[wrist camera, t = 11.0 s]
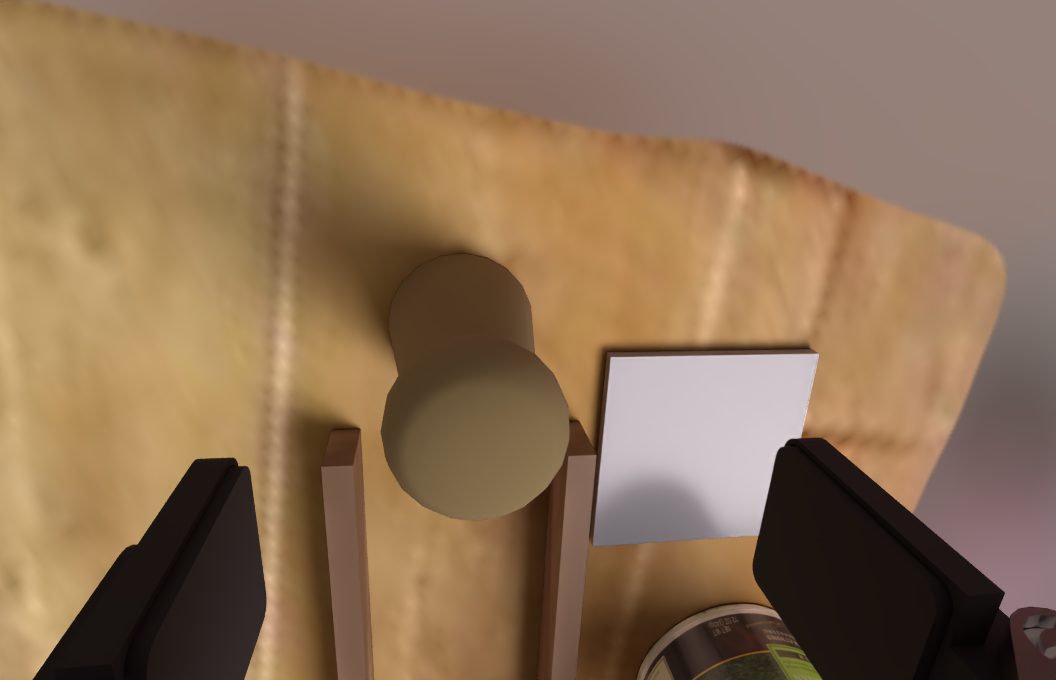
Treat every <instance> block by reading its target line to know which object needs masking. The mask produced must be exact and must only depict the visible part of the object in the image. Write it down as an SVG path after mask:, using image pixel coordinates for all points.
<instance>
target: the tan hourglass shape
mask: <svg viewBox="0 0 1056 680" xmlns="http://www.w3.org/2000/svg"><path fill="white" fill-rule="evenodd" d="M388 325H389V331H390V337H391V343H392V348H393V352H394V357H395V362H396V367H397V371H398V377H397V379H396V381H395V383H394V384H393V386H392V388H391V390H390V391H389V393H388V395H387V400H386V405H385V410H384V416H383V421H382V427H381V436H382V441H383V447H384V452H385V458H386V460H387V463H388V466H389V468H390V469H391V471H392V473H393V474H394V476H395V478H396V480H397V481H398V483H399V485H400V486H401V488H402V489H403V490H404V491H405V492H406V493H408V494H409V495H410V496H411V497H412V498H413V499H415V500H416V501H417V502H418V503H419V504H421V505H422V506H424V507H426V508H428V509H430V510H432V511H435V512H437V513H440V514H442V515H445V516H447V517H449V518H453V519H463V520H472V521H479V520H486V519H492V518H498V517H502V516H505V515H507V514H509V513H511V512H514V511H516V510H518V509H520V508H523V507H524V506H526V505H527V504H528V503H529V502H531V501H532V500H533V499H534V498H535V497H537V496H538V495H539V494H540V493H541V492H543V491H544V490H545V489H546V488H547V487H548V485H549V484H550V482H551V481H552V479H553V478H554V476H555V475H556V473H557V472H558V470H559V469H560V467H561V466H562V464H563V460H564V457H565V453H566V450H567V446H568V443H569V433H570V430H569V414H568V404H567V402H566V400H565V397H564V395H563V393H562V391H561V388H560V386H559V384H558V381H557V379H556V378H555V376H554V374H553V372H552V371H551V370H550V369H549V368H548V367H547V366H546V365H545V364H544V363H543V362H542V361H541V360H540V359H539V358H538V357H537V356H536V354H535V349H534V337H533V325H532V314H531V305H530V302H529V300H528V298H527V295H526V293H525V291H524V289H523V286H522V285H521V284H520V283H519V281H518V280H517V279H516V278H515V277H514V276H513V275H512V274H511V273H510V272H509V270H508V269H506V268H504V267H503V266H501V265H499V264H497V263H496V262H494V261H492V260H490V259H488V258H485V257H480V256H475V255H471V254H466V253H463V254H454V255H445V256H440V257H438V258H435V259H433V260H431V261H429V262H426V263H424V264H422V265H420V266H419V267H418V268H416V269H415V270H414V271H413V272H412V273H411V274H410V275H409V276H408V277H407V278H405V279H404V280H403V281H402V283H401V285H400V287H399V289H398V290H397V292H396V294H395V296H394V298H393V299H392V302H391V308H390V314H389V320H388Z"/></svg>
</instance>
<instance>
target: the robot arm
mask: <svg viewBox="0 0 1056 680" xmlns="http://www.w3.org/2000/svg"><path fill="white" fill-rule="evenodd" d="M753 574H754V577H755V580H756V582H757V584H758V586H759V587H760V589H761V590H762V592H763V593H764V595H765V596H766V598H767V599H768V600H769V602H770V603H771V605H772V606H773V608H774V609H775V611H776V612H777V614H778V615H779V617H780V618H781V620H782V621H783V623H784V624H785V626H786V627H787V628H788V630H789V631H790V633H791V634H792V636H793V637H794V639H795V640H796V642H797V643H798V645H799V646H800V648H801V649H802V651H803V652H804V654H805V655H806V656H807V658H808V659H809V661H810V662H811V664H812V665H813V667H814V668H815V670H816V671H817V673H818V674H819V676H820V677H821V679H822V680H1056V611H1055V610H1052V609H1048V608H1040V607H1025V608H1019V609H1017V610H1016V611H1015V612H1013V613H1012V614H1011V616H1010V618H1009V617H1008V616H1007V615H1005V614H1004V613H1003V612H1002V611H1001V610H1000V609H999V607H1000V604H1001V601H1002V599H1003V597H1004V594H1005V592H1004V591H1002V590H1001V589H1000V588H999V587H998V586H996V585H995V584H994V583H993V582H992V581H991V580H989V579H988V578H987V577H986V576H985V575H984V574H982V573H981V572H980V571H979V570H978V569H976V568H975V567H974V566H973V565H972V564H971V563H969V562H968V561H967V560H966V559H965V558H964V557H962V556H961V555H960V554H959V553H958V552H957V551H955V550H954V549H953V548H952V547H951V546H949V545H948V544H947V543H946V542H945V541H944V540H942V539H941V538H940V537H939V536H938V535H937V534H935V533H934V532H933V531H932V530H931V529H929V528H928V527H927V526H926V525H925V524H924V523H922V522H921V521H920V520H919V519H918V518H916V517H915V516H914V515H913V514H912V513H911V512H910V511H908V510H907V509H906V508H905V507H904V506H902V505H901V504H900V503H899V502H898V501H897V500H895V499H894V498H893V497H892V496H891V495H890V494H888V493H887V492H886V491H885V490H884V489H883V488H881V487H880V486H879V485H878V484H877V483H875V482H874V481H873V480H872V479H871V478H870V477H868V476H867V475H866V474H865V473H864V472H863V471H861V470H860V469H859V468H858V467H857V466H855V465H854V464H853V463H852V462H851V461H850V460H848V459H847V458H846V457H845V456H844V455H843V454H841V453H840V452H839V451H838V450H837V449H835V448H834V447H833V446H832V445H831V444H830V443H828V442H827V441H826V440H824V439H823V438H794V439H790V440H788V441H787V442H786V444H785V445H784V447H781V448H779V450H778V451H777V454H776V458H775V462H774V467H773V472H772V476H771V481H770V485H769V490H768V495H767V499H766V504H765V508H764V513H763V518H762V522H761V527H760V531H759V536H758V541H757V545H756V550H755V554H754V559H753ZM265 612H266V589H265V581H264V574H263V566H262V558H261V551H260V543H259V535H258V528H257V520H256V512H255V505H254V497H253V490H252V482H251V475H250V470H249V468H248V467H247V466H238V463H237V461H236V459H235V458H210V459H196V460H195V461H194V462H193V463H192V464H191V466H190V467H189V469H188V470H187V472H186V473H185V475H184V476H183V478H182V479H181V481H180V482H179V484H178V485H177V487H176V488H175V490H174V491H173V493H172V494H171V496H170V497H169V499H168V500H167V502H166V503H165V505H164V506H163V508H162V509H161V511H160V512H159V513H158V515H157V516H156V518H155V519H154V521H153V522H152V524H151V525H150V527H149V528H148V530H147V531H146V533H145V534H144V536H143V537H142V539H141V540H140V542H139V543H138V545H131V546H129V547H127V548H126V549H125V550H124V551H123V552H122V553H121V554H120V555H119V556H118V558H117V559H116V561H115V562H114V564H113V565H112V567H111V568H110V569H109V571H108V572H107V574H106V575H105V577H104V578H103V579H102V581H101V582H100V584H99V585H98V587H97V588H96V589H95V591H94V592H93V594H92V595H91V597H90V598H89V600H88V601H87V602H86V604H85V605H84V607H83V608H82V610H81V611H80V612H79V614H78V615H77V617H76V618H75V620H74V621H73V622H72V624H71V625H70V627H69V628H68V630H67V631H66V633H65V634H64V635H63V637H62V638H61V640H60V641H59V643H58V644H57V645H56V647H55V648H54V650H53V651H52V653H51V654H50V655H49V657H48V658H47V660H46V661H45V663H44V664H43V666H42V667H41V668H40V670H39V671H38V673H37V674H36V676H35V677H34V678H33V680H244V679H245V675H246V672H247V669H248V666H249V663H250V660H251V657H252V654H253V651H254V648H255V645H256V642H257V639H258V636H259V633H260V630H261V627H262V624H263V621H264V617H265Z"/></svg>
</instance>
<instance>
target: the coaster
mask: <svg viewBox="0 0 1056 680" xmlns="http://www.w3.org/2000/svg"><path fill="white" fill-rule="evenodd" d="M818 357H819V353H817V352H816V351H814V350H812V349H790V350H725V351H661V352H607V358H606V369H605V379H604V390H603V400H602V411H601V422H600V432H599V443H598V454H597V464H596V475H595V485H594V496H593V507H592V517H591V528H590V538H589V539H590V542H591V544H592V547H597V546H611V545H626V544H640V543H655V542H669V541H684V540H698V539H713V538H727V537H742V536H757V535H759V531H760V527H761V522H762V518H763V513H764V508H765V504H766V499H767V495H768V490H769V485H770V481H771V476H772V472H773V467H774V462H775V458H776V454H777V451H778V450H779V448H781V447H784V445H785V444H786V442H787V441H788V440H790V439H794V438H801V435H802V430H803V426H804V421H805V417H806V412H807V407H808V403H809V398H810V394H811V389H812V385H813V380H814V376H815V371H816V367H817V362H818Z"/></svg>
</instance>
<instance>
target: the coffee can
mask: <svg viewBox="0 0 1056 680" xmlns="http://www.w3.org/2000/svg"><path fill="white" fill-rule="evenodd" d="M637 680H822V679H821V677H820V676H819V674H818V673H817V671H816V670H815V668H814V667H813V665H812V664H811V662H810V661H809V659H808V658H807V656H806V655H805V654H804V652H803V651H802V649H801V648H800V646H799V645H798V643H797V642H796V640H795V639H794V637H793V636H792V634H791V633H790V631H789V630H788V628H787V627H786V626H785V624H784V623H783V621H782V620H781V618H780V617H779V615H778V614H777V612H776V611H775V610H773V609H770V608H767V607H764V606H760V605H754V604H730V605H724V606H719V607H714V608H711V609H708V610H705V611H703V612H700V613H698V614H695V615H693V616H691V617H689V618H687V619H685V620H683V621H681V622H680V623H678V624H677V625H676V626H674V627H673V628H672V629H670V630H669V631H668V632H667V633H665V634H664V635H663V636H662V637H661V638H660V639H659V640H658V641H657V642H656V643H655V644H654V646H653V647H652V648H651V649H650V651H649V652H648V654H647V656H646V657H645V659H644V661H643V663H642V665H641V667H640V670H639V673H638V677H637Z"/></svg>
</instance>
